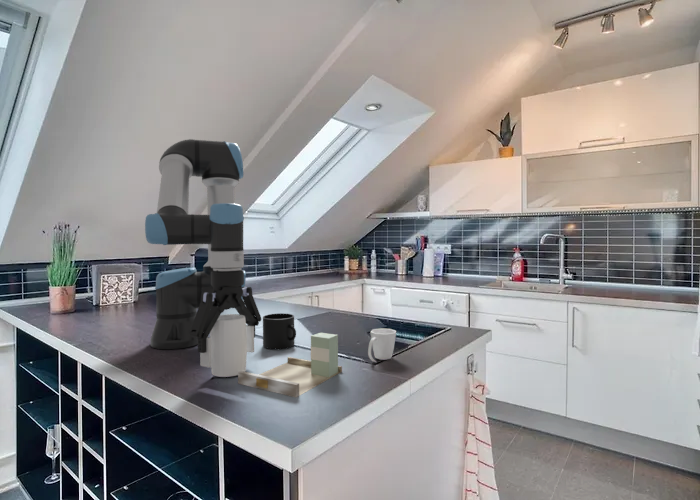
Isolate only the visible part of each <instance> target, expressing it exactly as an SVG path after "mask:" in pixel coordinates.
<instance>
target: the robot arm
mask: <svg viewBox="0 0 700 500" xmlns="http://www.w3.org/2000/svg"><path fill="white" fill-rule="evenodd" d="M158 163H159V164H158V169H159V173H160V175H161V177H160V184H159V185H160V186H159V192H158V201H157V209H156V213H149V214H147V215H146V217H145V219H144V220H145V221H144V222H145V223H144V232H145V239H146V241H147V243H148V244H150V245H163V246H169V245H172V246H173V245H174V246H176V245H207V254H208V255H207V257H208V258H207V262H206V263H205V264H204V265H203V270H202V271H197V269H196V267H194V266H192V267H183V268H177V269H171V270H170V269H169V270H166V271H162V272H159V273H158V274H157V275H156V277H155V288H154V289H155V293H156V294H155V297H156V299H155V300H156V302H155V305H156V307H155V308H156V309H155V311H156V315H155V316H156V321H155V323H154V327H153V330H152V334H151V337H150V347H151V348H152V349H157V350H177V349H184V348H189V347H190V348H191V347H193V346H194V347H195V346H197V351H198V353H199V355H200V357H199V358H200V359H199V360H200V361H199V364H200V367H204V368H208V369H209V368H211V338H210V332H211V330H212V328H213V326H214V325H215V323H216V321H217V319H218V318H219V316H220V315H222V313H224V311H225V310H226V311H227V310H230V309H235V310H236V311H237V313H238V314H239V315H244V316H245V320H246V332H247V353H253V354H254V353H255V337H256V326H257V327H258V326H259V323H260V322H261V321H262V316H261V314H260V310H259V309H258V305H257V304H256V301H255V298H254V296H253V289H252V288H253V287H251V286H246V282H247V281H246V275H247V274H246V273H247V272H246V270H244V269H243V268H244V265H245V263H244V262H245V259H244V257H245V256H244V253H245V252H244V249H245V248H244V221H245V218H244V212H243V211H244V209H243V208H244V207H243V206H242V205H241V204H238V203H236V202H235V200H236V199H235V196H236V195H235V193H236V192H235V188H236V187H237V186H238V185H239V184H240V180H241V179H243V178H244V161H243V156H242V152H241V148H240V145H238V144H237V143H235V142H229V141H228V142H227V141H226V140H225V141H217V140H216V141H215V140H205V139H204V140H203V139H202V140H201V139H193V138H189V139H183V140H180V141H178V142H176V143H174V144H172V145H171V146H169V147H168V148H167V149H166V150H165V151H164V152H163V153H162V155H161V157H160V159H159V162H158ZM191 177H200V178H201V182H202V184H203V185H204V186H205V187H206V193H207V194H206V196H207V197H206V200H207V202H206V203H207V204H206V205H207V211H206V212H207V214H193V213H191V214H189V203H190V202H189V200H190V199H189V198H190V178H191Z"/></svg>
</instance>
